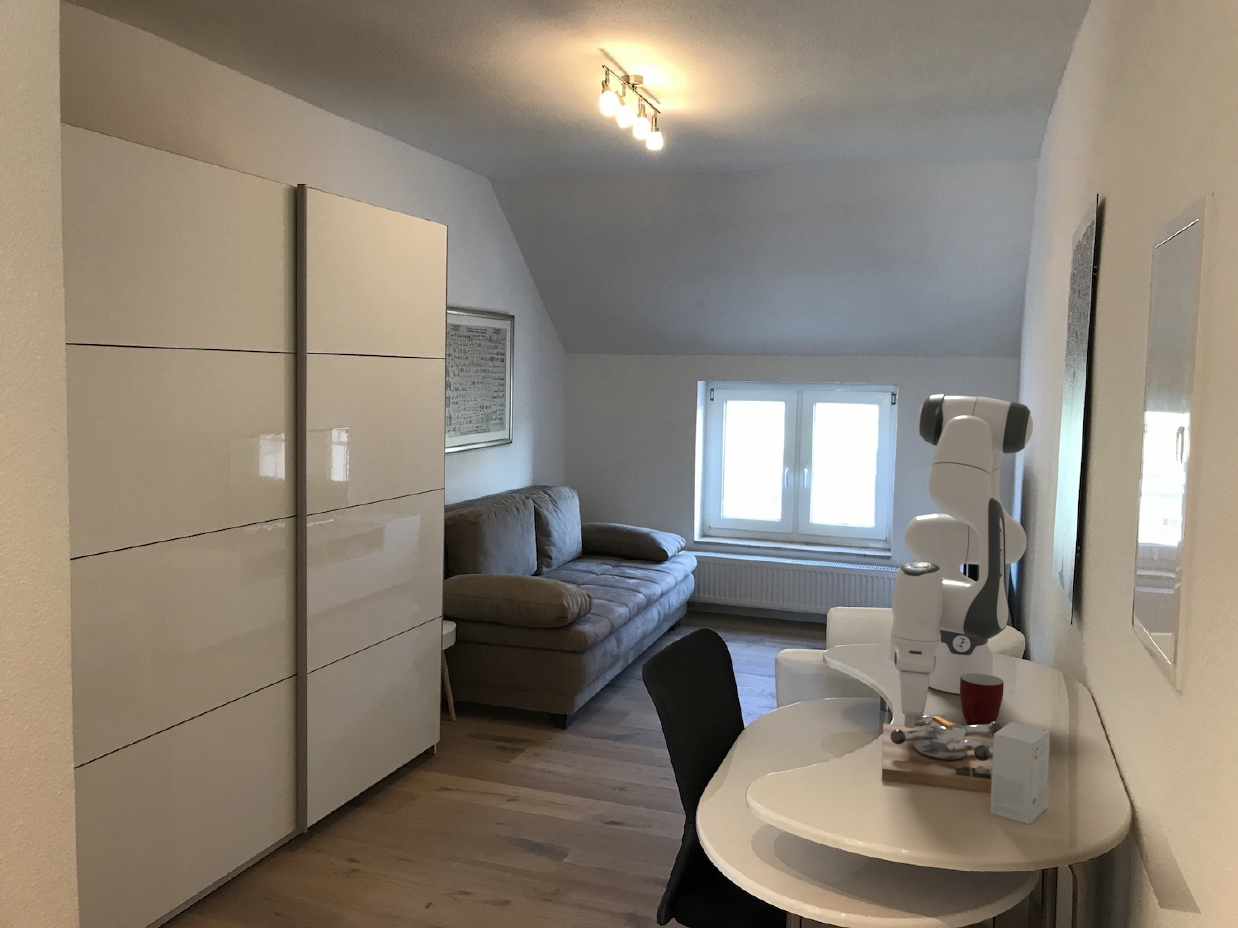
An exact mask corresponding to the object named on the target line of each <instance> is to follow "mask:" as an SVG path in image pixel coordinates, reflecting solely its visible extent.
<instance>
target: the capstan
mask: <svg viewBox="0 0 1238 928" xmlns="http://www.w3.org/2000/svg"><path fill="white" fill-rule="evenodd" d="M927 726H929V728H930V729H923V730H910V731H902V730H899V729H895V730H893V731H892V732H891V735H890V738H891V740H892V742H893V743H895V744H898V745H899V744H902V743H904V742H906V741H916V742H915V751H916V752H918V753H919V754H921V755H923V756H926V757H929V758H932V759H937V760H945V761H955V760H961V759H964V758H966V757H967V751H974V755H975V757H976V758H977V759H978V760H980V761H986V760H988V759H989V757H990V750H989V749H990V742H989V740H988V739H977V740H965V736H976V735H993V736H994V733H996V732H997V731H999V730H1000V729H1002V728H1003V727H1004V726H1003V724H1002V723H1000V722H999V721H997V720H996V721H993V722H991V723H990V724H983V725H971V726H968V725H962V724H960V723H957V722H952V721H948V720H947V719H946V716H945V714H931V715H924V714H923V715H922V716H916V718H915V727H927Z"/></svg>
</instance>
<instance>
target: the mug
mask: <svg viewBox="0 0 1238 928" xmlns="http://www.w3.org/2000/svg"><path fill="white" fill-rule="evenodd" d="M1004 684H1005V683H1004V680H1003V679H1002V678H1000V677H998V676H995V675H994V676H991V675H986V674H975V673H971V674H964V675H962V676H961V678H960V694H959V695H960V703H961V710H962V715H963V718H964V721H965V722H966V724H967V725H966V726H971V725H983V724H990V723H991V722H993V721H997V720H998V718H999V713H1000V710H1001V706H1002V701H1003V696H1004V686H1005V685H1004Z"/></svg>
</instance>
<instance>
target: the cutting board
mask: <svg viewBox="0 0 1238 928" xmlns="http://www.w3.org/2000/svg"><path fill="white" fill-rule="evenodd" d="M882 724H883V728H882V756H881V757H882V761H881V762H882V765H881V780H882V781H885V782H887V781H888V782H893V783H894V782H895V783H903V784H911V785H919V786H920V785H921V786H927V787H928V786H929V787H937V788H945V789H953V790H959V791H960V790H961V791H968V792H977V793H984V794H985V793H986V794H991V784H992V762H993V740H994V736H993V735H991V734H988V735H976V736H965V740H977V739H988V740H989V742H990V749H989V750H990V757H989V759H988V760H986V761H980V760H978V759H977V758H976V757H975V755H974V751H967V757H966V758H964V759H961V760H955V761H945V760H937V759H932V758H929V757H926V756H923V755H921V754H919V753H918V752H916V751H915V742H916V741H906V742H904V743H902V744H899V745H898V744H895V743H893V742H892V740H891V738H890V735H891V732H892V731H893V730H895V729H899V730H902V731H910V730H923V729H930V727H929V728H928V727H923V726H918V727H914V728H907V727H905V725H902V724H894V723H893V724H892V723H882Z"/></svg>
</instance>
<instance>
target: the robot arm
mask: <svg viewBox="0 0 1238 928" xmlns="http://www.w3.org/2000/svg"><path fill="white" fill-rule="evenodd" d="M917 427H918V430H919V432H918V433H919V436H920V437H921V438H922V440H923V441H924V442H926V443H929V444H931V445H932V446H936V447H935V452H934V455H933V457H932V462H931V468H930V474H929V479H928V493H929V496H930V498H931V500H932V502H933V503H934V504H935V506H936V507H938V508H939V509H940V510H941V511H942V512H943V513H928V514H921V515H916V516H914V517H913V518H912V519H911V520H910V521H909V523H908V524H907V527H906V529H905V533H904V543H905V546H906V548H907V550H908V552H909V553H910V555H911V556H912V557H913V558H914V559H916V560H917V561H909V562H906V563H903V564H902V565H900V566H899V567H898V570H897V573H896V577H895V583H894V588H893V593H892V602H891V603H892V605H891V612H892V613H891V614H892V615H893V616H892V617H893V618H892V619H893V623H892V626H891V629H890V634H889V651H888V658H889V660H890V661H892V663H893V664H894V667H895V668H894V669H896V671H897V673H898V676H899V677H898V678H899V690H900V691H899V692H900V693H899V695H900V709H901V713H902V715H904V719H903V720H904V726H905V727H907V728H914V727H915V718H916V716H922V715H923V716H924V712H925V708H926V703H927V697H928V691H929V687H930V688H931V689H935V690H938V691H942V692H946V693H951V694H958V695H960V678H961V676H962V675H964V674H971V673H975V674H986V675H991V676H995V652H994V651H992V649H991V648H990V647H989V646H988V642H989V640H990V639H992V638H994V637H996V636H998V634H1000V633H1002V632H1003V631H1004V630H1005V629H1006V627H1007V624H1008V620H1009V604H1008V601H1009V600H1008V595H1007V594H1008V593H1007V579H1006V574H1007V571H1006V569H1007V567H1006V565H1008V564H1015V563H1017V562H1018V561H1020V560H1021V558H1022V557H1023V555H1024V554H1025V552H1026V549H1027V546H1028V545H1027V543H1028V541H1027V533H1026V532H1025V530H1024V527H1023V526H1022V525H1021V523H1020V522H1019V521H1018V520H1017V519H1015V518H1013V517H1012V516H1011V515H1010V514H1009V513H1008V512H1007V511H1006V509H1005V508H1004V505H1003V504H1002V501H1001V498H1000V475H1001V466H1002V458H1003V454H1005V455H1006V454H1016V453H1019V452H1022V450H1024V449H1025V448H1026V445H1027V444H1028V443H1029V441H1030V440H1031V437H1032V434H1033V431H1034V430H1033V429H1034V422H1033V418H1032V415H1031V410H1030V409H1029V407H1028V406H1027V405H1026V404H1023V403H1021V402H1017V401H1015V400H1012V401H1007V400H1002V399H997V398H992V397H989V396H988V397H987V396H986V397H985V396H981V395H980V396H971V395H946V393H944V394H943V393H940V394H933V395H929V396H928V397H927V398H926V399H925V400H924V401H923V404H922V406H921V407H920V409H919V412H918V414H917ZM967 564H968V565H978V580H977V581H975V580H974V579H972V578H970V577H968V576H966V575H965V574H963V573H962V571H961V565H967Z"/></svg>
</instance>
